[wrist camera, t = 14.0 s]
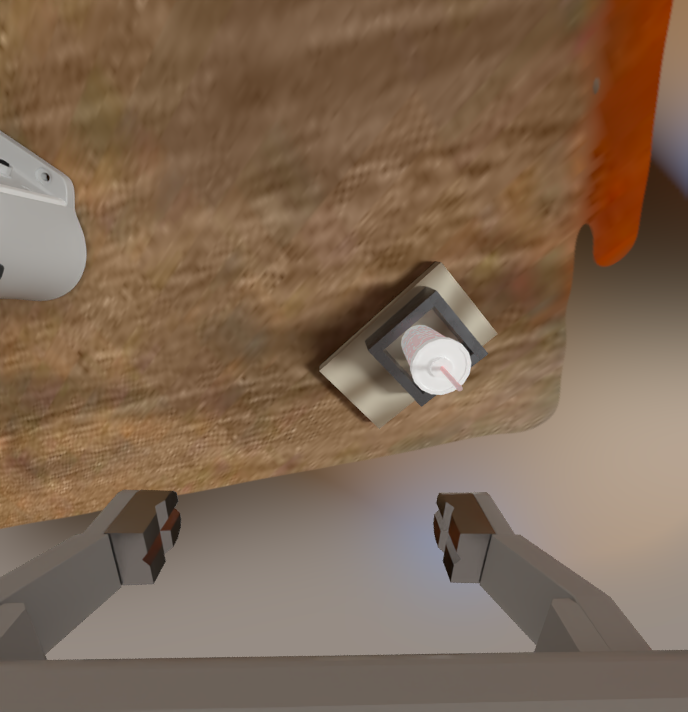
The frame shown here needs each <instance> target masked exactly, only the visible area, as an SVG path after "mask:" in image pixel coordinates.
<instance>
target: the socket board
mask: <svg viewBox="0 0 688 712" xmlns="http://www.w3.org/2000/svg"><path fill="white" fill-rule="evenodd" d="M426 286H427V287H430V288H432V289H434V290H436V291H437V292H438V293H439V294H440V295H441V297H442V298H443V299H444V300H445V301H446V303H447V304H448V305H449V306H450V308H451V309H452V310H453V311H454V312H455V314H456V315H457V316H458V317H459V319H460V320H461V321H462V322H463V323H464V325H465V326H466V327H467V328H468V330H469V331H470V332H471V333H472V335H473V336H474V337H475V338H476V339H477V341H478V342H479V343H480V344H481V346H483V345H484V344H486V343H487V342H488V341H489V340H491V339H492V338H493V337H494V336H496V335H497V333H496V331H495V330H494V329H493V327H492V326H491V325H490V324H489V322H488V321H487V320H486V319H485V317H484V316H483V315H482V313H481V312H480V311H479V310H478V308H477V307H476V306H475V305H474V303H473V302H472V301H471V299H470V298H469V297H468V296H467V294H466V293H465V292H464V291H463V289H462V288H461V287H460V285H459V284H458V283H457V282H456V280H455V279H454V278H453V277H452V275H451V274H450V273H449V271H448V270H447V269H446V268H445V266H444V265H443V264H442V263H441V262H437V261H436V262H435V263H434V264H433V265H432V266H430V267H429V268H428V269H427V270H426V271H425V272H424V273H423V274H421V275H420V276H419V277H418V278H417V279H416V280H415V281H414V282H413V283H411V284H410V285H409V286H408V287H407V288H406V289H405V290H404V291H403V292H401V293H400V294H399V295H398V296H397V297H396V298H395V299H394V300H392V301H391V302H390V303H389V304H388V305H387V306H386V307H385V308H384V309H382V310H381V311H380V312H379V313H378V314H377V315H376V316H375V317H374V318H372V319H371V320H370V321H369V322H368V323H367V324H366V325H365V326H363V327H362V328H361V329H360V330H359V331H358V332H357V333H356V334H355V335H353V336H352V337H351V338H350V339H349V340H348V341H347V342H346V343H344V344H343V345H342V346H341V347H340V348H339V349H338V350H337V351H336V352H334V353H333V354H332V355H331V356H330V357H329V358H328V359H327V360H326V361H324V362H323V363H322V364H321V365H320V370H319V371H320V372H321V373H322V374H323V375H324V376H325V377H326V378H327V379H328V380H329V381H330V382H331V383H332V384H333V385H334V386H335V387H337V388H338V389H339V390H340V391H341V392H342V393H343V394H344V395H345V396H346V397H347V398H348V399H349V400H350V401H351V402H352V403H353V404H354V405H355V406H356V407H357V408H358V409H359V410H360V411H361V412H362V413H363V414H364V415H366V416H367V417H368V418H369V419H370V420H371V421H372V422H373V423H374V424H375V425H376V426H377V427H378V428H379V429H380V428H381V427H382V426H383V425H385V424H386V423H387V422H388V421H390V420H391V419H392V418H393V417H395V416H396V415H397V414H398V413H400V412H401V411H402V410H403V409H405V408H406V407H407V406H408V405H410V404H411V403H412V402H413V401H415V399H414V398H413V397H412V396H411V395H410V394H409V393H408V392H407V391H406V390H405V389H404V388H403V387H402V386H401V385H400V384H399V383H398V382H397V381H396V380H395V378H394V377H393V376H392V375H391V374H390V373H389V372H388V371H387V370H386V369H385V368H384V367H383V366H382V365H381V364H380V363H379V362H378V361H377V360H376V359H375V358H374V356H373V355H372V354H371V353H370V352H369V351H368V349H367V346H366V343H365V340H366V339H367V338H368V337H370V336H371V335H372V334H373V333H374V332H375V331H376V330H377V329H379V328H380V327H381V326H382V325H383V324H384V323H385V322H386V321H388V320H389V319H390V318H391V317H392V316H393V315H394V314H396V313H397V312H398V311H399V310H400V309H401V308H402V307H403V306H405V305H406V304H407V303H408V302H409V301H410V300H411V299H413V298H414V297H415V296H416V295H417V294H418V293H419V292H420V291H422V290H423V289H424V288H425V287H426ZM416 325H425V326H428V327H430V328H432V329H433V330H435V331H436V332H438V333H440V334H441V335H443V336H445V337H449V338H451V339H453V340H455V341H457V342H459V340H458V339H457V338H456V337H455V336H454V335H453V333H452V332H451V331H450V330H449V329H448V327H447V326H446V325H445V324H444V323H443V321H442V320H441V319H440V318H439V317H438V315H437V314H436V313H435V312H434V311H433V309H431V310H430V311H428V312H427V313H426V314H425V315H424V316H423V317H421V318H420V319H419V320H418V321H417V322H416V323H414V324H413V325H412V326H411V327H413V326H416ZM411 327H410V328H411ZM407 330H408V329H407ZM407 330H406V331H407ZM406 331H405V332H406ZM405 332H404V333H405ZM404 333H403V334H402V335H401V336H399V337H398V338H397V339H396V340H395V341H394V342H392V343H391V344H390V345H389V346H388V347H387V348H385V349H386V350H387V351H388V353H389V354H390V355H391V356H392V357H393V358H394V359H395V360H396V361H397V362H398V363H399V364H400V365H401V367H402V368H403V369H404V370H405V371H406V372H407V373H408V374H409V375H410V376H411V377H412V374H411V371H410V366H409V363H408V361H407V359H406V357H405V354H404V352H403V350H402V346H401V341H402V337H403V335H404ZM459 343H460V342H459ZM412 378H413V377H412Z"/></svg>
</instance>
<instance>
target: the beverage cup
mask: <svg viewBox="0 0 688 712" xmlns="http://www.w3.org/2000/svg"><path fill="white" fill-rule="evenodd" d="M401 346H402V350H403V352H404V354H405V357H406V359H407V361H408V363H409V366H410V371H411V374H412V377H413V380H414V382H415V383H416V384H417V385H418V387H419V388H420V389H421V390H423V391H425V392H427V393H430V394H438V395H443V394H446V393H449V392H452V391H454V390H456V389H457V390H458V391H461V390H462V389H463V388H462V386H461V385H462V384H463V383H464V382H465V380H466V379H467V377H468V375H469V373H470V368H471V359H470V355H469V352H468V351H467V350H466V348H465V347H464V346H463V345H462V344H461V343H459V342H457V341H455V340H453V339H451V338H449V337H445V336H443V335H441V334H440V333H438V332H436V331H435V330H433V329H432V328H430V327H428V326H425V325H416V326H413V327H411V328H409V329H408V330H407V331H406V332H405V333H404V335H403V337H402V341H401Z"/></svg>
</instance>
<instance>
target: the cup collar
mask: <svg viewBox="0 0 688 712" xmlns="http://www.w3.org/2000/svg"><path fill="white" fill-rule="evenodd" d="M431 309H433V311H434V312H435V313H436V314H437V315H438V317H439V318H440V319H441V320H442V321H443V323H444V324H445V325H446V326H447V327H448V329H449V330H450V331H451V332H452V333H453V335H454V336H455V337H456V338H457V339H458V340H459V342H460V343H461V344H462V345H463V346H464V347H465V348H466V350H467V351H468V352H469V355H470V359H471V367H472V366H473V365H475V364H476V363H477V362H478V361H480V360H481V359H482V358H484V357H485V356H486V355H487V354H488V353H487V352H486V350H485V349H484V348H483V347H482V346H481V344H480V343H479V342H478V341H477V339H476V338H475V337H474V336H473V335H472V333H471V332H470V331H469V330H468V328H467V327H466V326H465V325H464V323H463V322H462V321H461V320H460V319H459V317H458V316H457V315H456V314H455V312H454V311H453V310H452V309H451V308H450V306H449V305H448V304H447V303H446V301H445V300H444V299H443V298H442V297H441V295H440V294H439V293H438V292H437V291H436V290H434V289H432V288H430V287H427V286H426V287H425V288H424V289H423V290H422V291H420V292H419V293H418V294H417V295H416V296H415V297H414V298H413V299H411V300H410V301H409V302H408V303H407V304H406V305H405V306H403V307H402V308H401V309H400V310H399V311H398V312H397V313H396V314H394V315H393V316H392V317H391V318H390V319H389V320H388V321H386V322H385V323H384V324H383V325H382V326H381V327H380V328H379V329H377V330H376V331H375V332H374V333H373V334H372V335H371V336H370V337H368V338H367V339H366V340H365V343H366V346H367V349H368V351H369V352H370V353H371V354H372V355H373V356H374V358H375V359H376V360H377V361H378V362H379V363H380V364H381V365H382V366H383V367H384V368H385V369H386V370H387V371H388V372H389V373H390V374H391V375H392V376H393V377H394V378H395V380H396V381H397V382H398V383H399V384H400V385H401V386H402V387H403V388H404V389H405V390H406V391H407V392H408V393H409V394H410V395H411V396H412V397H413V398H414V399H415V400H416V402H417V403H418V404H419V405H420V406H421V407H422V406H423V405H424V404H426V403H427V402H428V401H429V400H431V399H432V398H433V397H434V396H436V395H437V394H430V393H427V392H425V391H423V390H421V389H420V388H419V387H418V385H417V384H416V383H415V382H414V380H413V378H412V377H411V376H410V375H409V374H408V373H407V372H406V371H405V370H404V369H403V368H402V367H401V365H400V364H399V363H398V362H397V361H396V360H395V359H394V358H393V357H392V356H391V355H390V354H389V353H388V351H387V350H386V349H385V348H387V347H388V346H389V345H390V344H391V343H392V342H394V341H395V340H396V339H397V338H398V337H399V336H401V335H402V334H403V333H404V332H405V331H406V330H407V329H409V328H410V327H411V326H412V325H413V324H414V323H416V322H417V321H418V320H419V319H420V318H421V317H423V316H424V315H425V314H426V313H427V312H428V311H430V310H431Z"/></svg>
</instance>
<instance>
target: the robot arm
mask: <svg viewBox="0 0 688 712" xmlns="http://www.w3.org/2000/svg"><path fill="white" fill-rule="evenodd" d="M47 175H49V177H50V180H49V181H48V180H47ZM85 264H86V244H85V238H84V235H83V231H82V229H81V226H80V224H79V221H78V219H77V216H76V213H75V195H74V187H73V184H72V181H71V180H70V178H69V177H68V176H66V175H65V174H64V173H62V172H61V171H59V170H58V169H56V168H55V167H53V166H52V165H50V164H49V163H47V162H46V161H44V160H43V159H41V158H40V157H39V156H37V155H36V154H34V153H33V152H31V151H30V150H28V149H27V148H25V147H24V146H22V145H21V144H19V143H18V142H16V141H15V140H13V139H12V138H10V137H9V136H7V135H6V134H4V133H3V132H1V131H0V299H22V300H32V301H46V300H52V299H55V298H58V297H61V296H63V295H65V294H66V293H68V292H69V291H70V290H72V289H73V288H74V287H75V286H76V284H77V283H78V282H79V280H80V278H81V276H82V274H83V271H84V268H85ZM177 503H178V497H177V493H176V492H174V491H160V490H122V491H120V492H119V493H117V495H116V496H115V497H114V498H113V499H112V500H111V501H110V503H109V504H108V505H107V506H106V507H105V508H104V510H103V511H102V512H101V513H100V514H99V515H98V516H97V518H96V519H95V520H94V521H93V522H92V523H91V524H90V526H89V527H88V528H87V529H86V530H85V531H84V532H83V534H76V535H74V536H72V537H70V538H69V539H67V540H66V541H63V542H62V543H60V544H58V545H56V546H55V547H53V548H51V549H49V550H48V551H46V552H44V553H42V554H41V555H39V556H37V557H35V558H33V559H32V560H30V561H28V562H26V563H25V564H23V565H21V566H20V567H18V568H16V569H14V570H12V571H11V572H9V573H7V574H5V575H3V576H2V577H0V712H688V650H652V649H651V648H650V647H649V645H648V644H647V643H646V642H645V640H644V639H643V638H642V636H641V635H640V634H639V633H638V631H637V630H636V629H635V628H634V626H633V625H632V624H631V623H630V621H629V620H628V619H627V617H626V616H625V615H624V614H623V612H622V611H621V610H620V609H619V607H618V606H617V605H616V604H615V602H614V601H613V600H612V599H611V597H609V596H608V595H607V594H605V593H604V592H602V591H601V590H599V589H598V588H596V587H595V586H594V585H592V584H591V583H589V582H588V581H586V580H585V579H583V578H582V577H581V576H579V575H577V574H576V573H575V572H573V571H572V570H570V569H569V568H568V567H566V566H564V565H563V564H562V563H560V562H559V561H557V560H556V559H554V558H553V557H552V556H550V555H549V554H547V553H546V552H544V551H543V550H541V549H540V548H539V547H537V546H535V545H534V544H532V543H531V542H530V541H528V540H527V539H525V538H524V537H523V536H521V535H515V534H514V532H513V531H512V529H511V527H510V526H509V524H508V523H507V521H506V520H505V518H504V517H503V515H502V513H501V512H500V510H499V509H498V507H497V506H496V504H495V503H494V501H493V500H492V498H491V496H490V495H489V494H488V493H486V492H473V493H439V495H438V497H437V506H438V508H439V510H438V511H437V512H436V513H435V514H434V522H433V525H434V535H435V540H436V543H437V545H438V548H440V549H441V550H442V551H443V552H444V557H443V563H444V565H445V568H446V571H447V574H448V576H449V579H450V582H453V583H455V582H456V583H480V586H481V587H482V588H483V589H484V590H485V591H486V592H487V593H488V594H489V595H490V596H491V597H492V598H493V600H494V601H495V602H496V603H497V604H498V605H499V606H500V607H501V608H502V609H503V610H504V611H505V612H506V613H507V614H508V615H509V617H510V618H511V619H512V620H513V621H514V622H515V623H516V624H517V625H518V626H519V627H520V628H521V629H522V631H524V633H525V634H526V635H528V637H529V638H530V639H531V640H532V641H533V642H534V643H535V644H536V648H535V651H534V652H524V653H459V654H402V655H349V656H348V655H347V656H345V655H344V656H283V657H282V656H279V657H212V658H211V657H210V658H150V659H149V658H148V659H147V658H146V659H86V660H85V659H84V660H47V659H46V656H45V654H46V653H47V652H49V651H50V650H51V649H52V648H53V647H54V646H55V645H56V644H58V643H59V642H60V641H61V640H62V639H63V638H64V637H66V636H67V635H68V634H69V633H70V632H71V631H72V630H73V629H75V628H76V627H77V626H78V625H79V624H80V623H81V622H83V620H85V619H86V618H87V617H88V616H89V615H90V614H92V613H93V612H94V611H95V610H96V609H97V608H98V607H99V606H101V605H102V604H103V603H104V602H105V601H106V600H107V599H108V598H110V597H111V596H112V595H113V594H114V593H115V592H116V591H117V590H119V589H120V588H121V585H139V584H140V585H142V584H154V582H155V581H156V579H157V577H158V575H159V573H160V571H161V569H162V567H163V566H164V564H165V562H166V561H165V556H164V554H165V553H166V552H168V551H169V550H170V549H172V548H173V547H174V545H175V543H176V541H177V539H178V535H179V532H180V528H181V516H180V512H179V511H177V510H176V509H175V506H176V504H177Z"/></svg>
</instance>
